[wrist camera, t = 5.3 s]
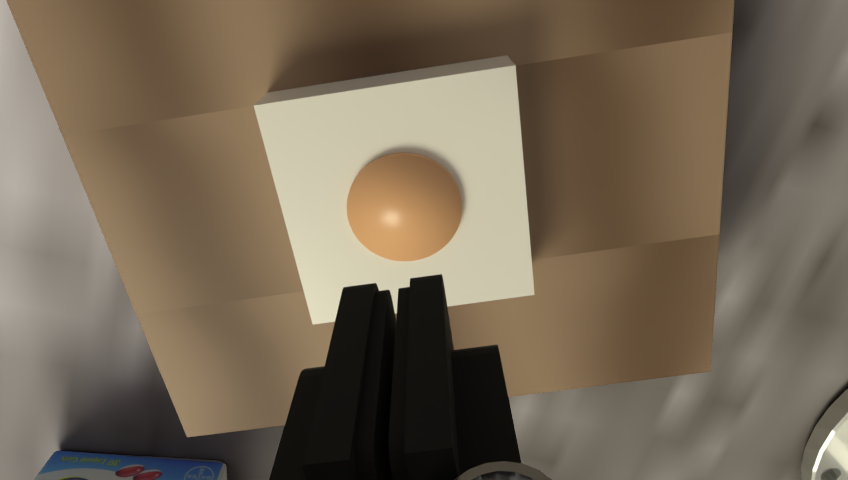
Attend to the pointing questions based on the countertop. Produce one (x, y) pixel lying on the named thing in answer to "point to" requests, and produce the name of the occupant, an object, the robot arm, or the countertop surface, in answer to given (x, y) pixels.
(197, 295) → the wooden block
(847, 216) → the countertop surface
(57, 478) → the medicine box
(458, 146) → the button
